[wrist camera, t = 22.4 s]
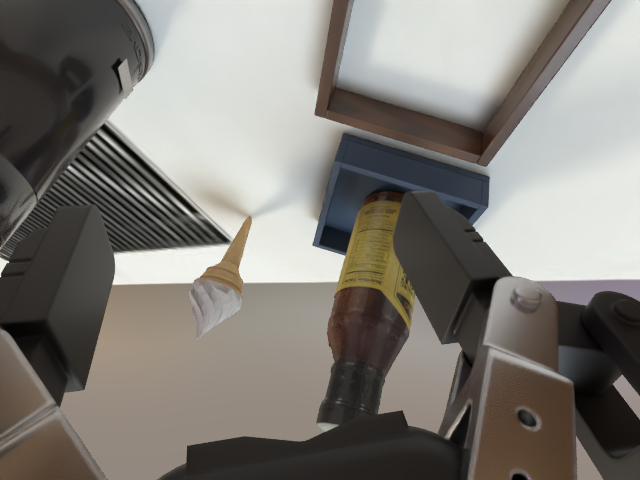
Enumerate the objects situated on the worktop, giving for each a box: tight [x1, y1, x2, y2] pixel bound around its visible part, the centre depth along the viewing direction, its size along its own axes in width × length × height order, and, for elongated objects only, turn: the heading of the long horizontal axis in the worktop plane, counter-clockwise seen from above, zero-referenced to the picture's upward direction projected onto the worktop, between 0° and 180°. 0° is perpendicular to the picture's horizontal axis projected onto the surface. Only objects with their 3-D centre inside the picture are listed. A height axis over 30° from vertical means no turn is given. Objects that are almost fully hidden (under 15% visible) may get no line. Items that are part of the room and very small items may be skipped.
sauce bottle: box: [316, 191, 415, 432], centre depth 32 cm, size 6×6×20 cm
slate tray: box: [313, 134, 490, 256], centre depth 37 cm, size 12×13×3 cm
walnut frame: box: [315, 0, 611, 166], centre depth 23 cm, size 13×13×2 cm
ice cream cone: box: [189, 218, 252, 340], centre depth 42 cm, size 6×6×15 cm
